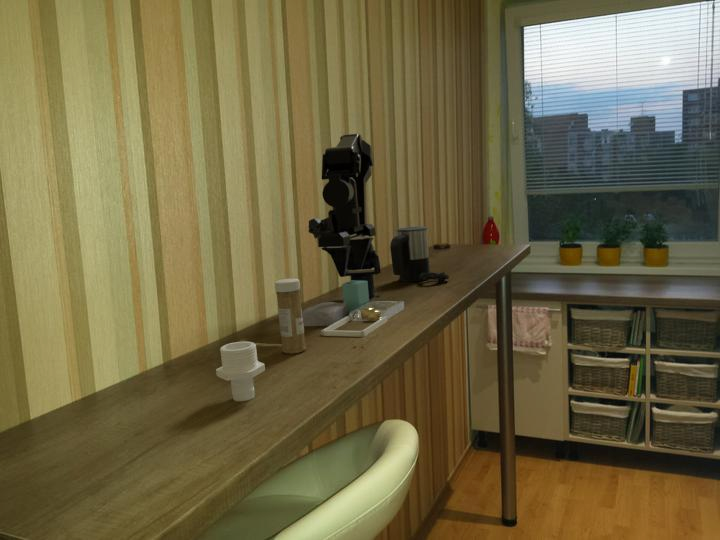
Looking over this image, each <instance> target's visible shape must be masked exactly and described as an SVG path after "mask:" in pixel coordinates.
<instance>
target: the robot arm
mask: <svg viewBox="0 0 720 540" xmlns="http://www.w3.org/2000/svg"><path fill="white" fill-rule="evenodd" d="M339 139H340V140H339V142H338V143H337V145H336V146H335V147H334V146H332V147H327V148H326V149H325V151H324V153H322V163H321V180H322V181H323V180H328V182H327V183H325V185H324V187H323V189H322V195H321V196H322V199H323V200H324V202H325V204H327V205H328V206H329V207H331V209H330V210H328V212H327V214H328V217H326V218H324V219H321V220H320V219H319V218H318V217H314V218H311V219H309V220H308V226H307V227H308V233H309V234H312V235H313V238H314V239H315V240H317V247H318V248H321V250H322V251H325V252H326V253H327V254H328V255H330V257H331V259H332V261H333V264H334V266H335V268H336V271H337V273H338V275H339V277H341V278H343V277H350V281H352V280H356V281H368V293H369V300H372V299H374V298H377V297H379V296H380V293H377V292H376V293H375V286H374V285H375V284H374V283H375V282H374V275H375V276H376V275H378V274H381V273H382V272H381V263H380V257H379V255H378V254H377V251H376V250H375V249H374V245H373V243H372V242H373V240H374V236H376V234H377V233H376V227H375V226H374V225H373V224H372V223H367V221H368V219H367V216H368V215H367V183H368V181H369V179H370V178H371V177H372V171H373V170H372V169H373V168H372V167H373V166H375V164H374V163H375V162H374V154H373V149H372V145H370V144H369V142H366V141H365V140H364V139H363V137H362V135H361V134H359V133H352V134H343V135H340V136H339Z"/></svg>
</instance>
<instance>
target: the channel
mask: <svg viewBox="0 0 720 540" xmlns="http://www.w3.org/2000/svg"><path fill="white" fill-rule="evenodd" d="M364 307H374V309H379V310H381V313H380V315H381V318H383V317H387V320H388V319H390V318H392V317H393V316H395V315H397V314H398V313H399V312H401V311H403V310H405V301H404V300H384V301H383V300H369V302H368V303H366V304H365V305H363V306H361V307H359V308H357V309H355V310H354V311H352V312H348V316H349V317H350V321H351V322H370V321H369V320H367V318H362V317H361V308H364ZM350 321H349V322H350ZM377 321H378V320H376V321H375V322H377Z"/></svg>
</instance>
